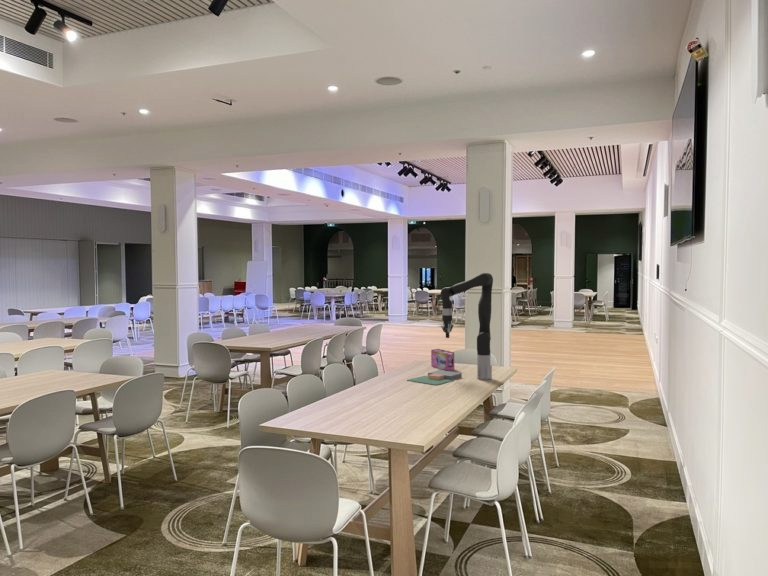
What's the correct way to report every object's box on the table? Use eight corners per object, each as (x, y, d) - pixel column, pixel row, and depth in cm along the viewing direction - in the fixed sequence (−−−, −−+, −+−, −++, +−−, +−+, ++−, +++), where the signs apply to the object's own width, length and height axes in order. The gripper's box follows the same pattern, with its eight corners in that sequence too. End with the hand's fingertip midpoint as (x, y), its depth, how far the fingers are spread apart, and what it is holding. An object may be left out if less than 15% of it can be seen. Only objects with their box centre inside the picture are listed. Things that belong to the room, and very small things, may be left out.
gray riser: (461, 377, 411) (461, 373, 411) (450, 380, 401) (450, 376, 401) (439, 374, 425) (439, 370, 425) (427, 376, 414) (427, 372, 414)
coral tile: (444, 378, 404) (444, 375, 404) (438, 380, 399) (438, 376, 399) (434, 377, 410) (434, 373, 410) (428, 378, 405) (428, 375, 405)
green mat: (453, 380, 398) (453, 380, 398) (436, 385, 384) (436, 384, 384) (424, 376, 416) (424, 375, 416) (406, 380, 401) (406, 379, 401)
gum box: (455, 370, 442) (455, 352, 442) (447, 370, 439) (447, 353, 438) (439, 365, 464) (439, 348, 463) (430, 366, 460) (430, 349, 460)
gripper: (446, 315, 413) (446, 339, 414) (456, 314, 423) (456, 337, 424) (437, 314, 418) (438, 338, 418) (448, 313, 428) (448, 336, 428)
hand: (447, 337), depth 421 cm, fingers closed
